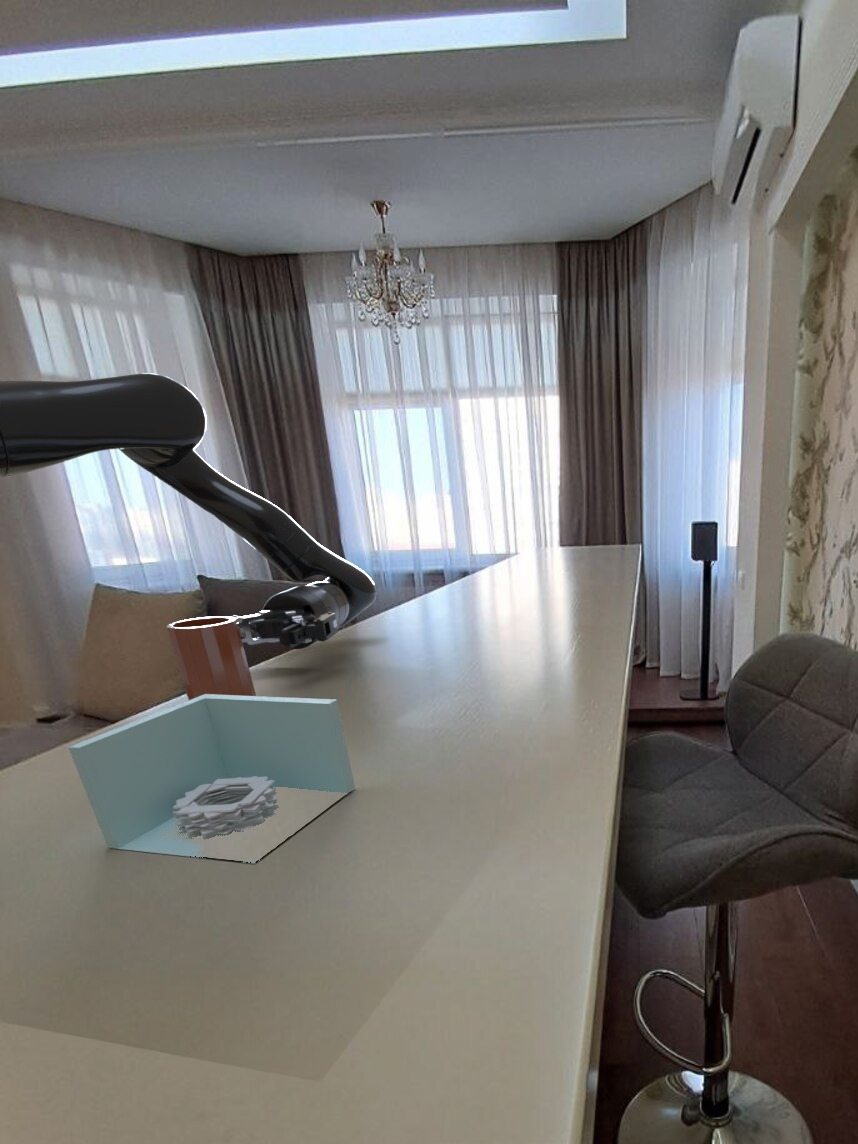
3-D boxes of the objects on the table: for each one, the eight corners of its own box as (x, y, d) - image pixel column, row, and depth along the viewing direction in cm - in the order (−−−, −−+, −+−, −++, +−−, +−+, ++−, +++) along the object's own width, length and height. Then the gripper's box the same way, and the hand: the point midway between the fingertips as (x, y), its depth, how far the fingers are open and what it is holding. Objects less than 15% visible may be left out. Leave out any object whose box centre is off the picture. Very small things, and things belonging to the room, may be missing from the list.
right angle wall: (107, 847, 47) (68, 747, 44) (230, 779, 58) (205, 694, 55) (255, 863, 45) (224, 757, 41) (355, 788, 55) (336, 699, 52)
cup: (180, 723, 72) (151, 628, 68) (220, 705, 78) (195, 616, 74) (234, 724, 71) (208, 628, 67) (271, 706, 77) (248, 616, 73)
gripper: (245, 589, 93) (180, 610, 79) (349, 586, 93) (303, 606, 78) (259, 644, 96) (198, 674, 82) (359, 640, 96) (316, 670, 82)
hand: (249, 640), depth 80 cm, fingers open, 8 cm apart
